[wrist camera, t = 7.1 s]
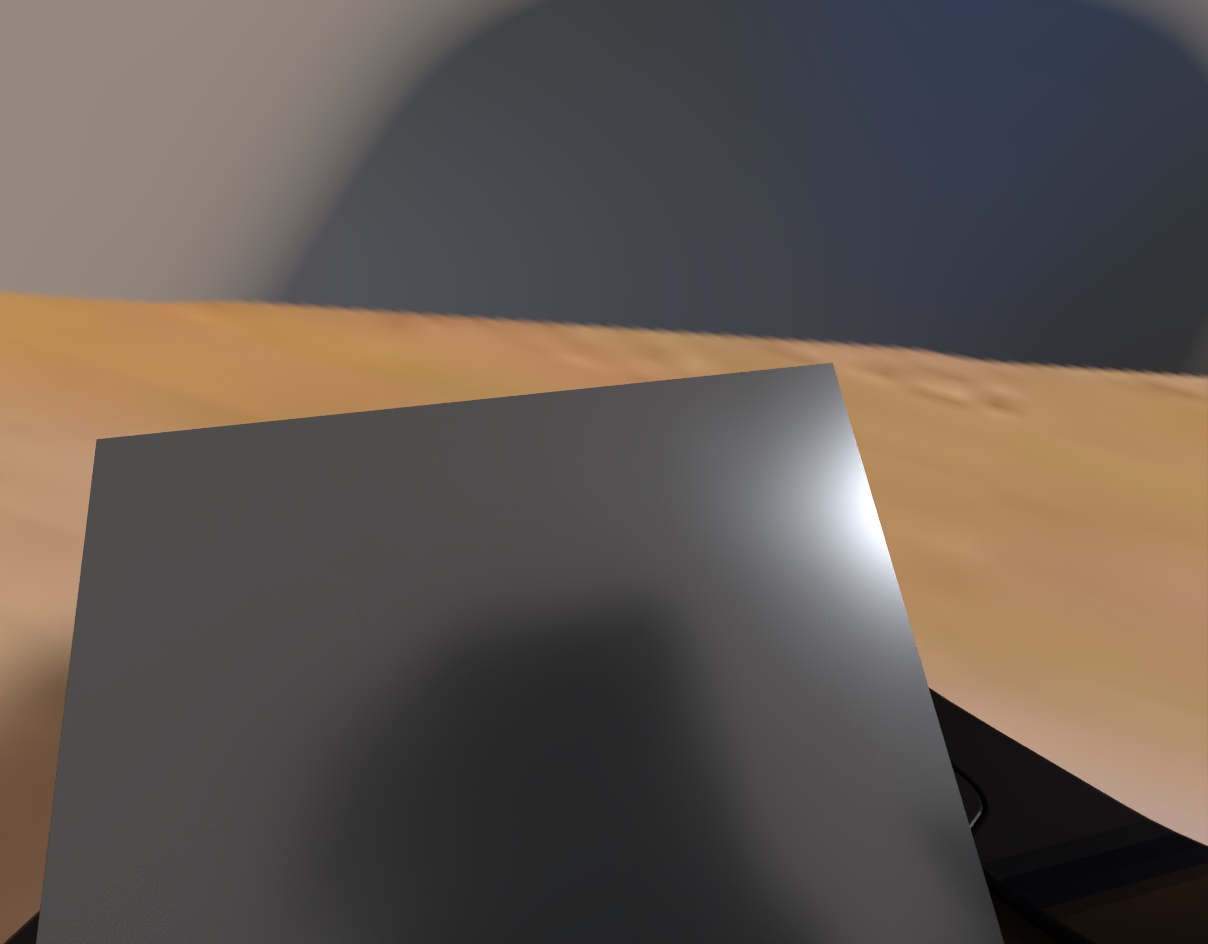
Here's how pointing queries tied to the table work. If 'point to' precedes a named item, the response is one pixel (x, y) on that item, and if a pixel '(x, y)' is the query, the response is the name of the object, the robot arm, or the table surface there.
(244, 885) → the steel square peg
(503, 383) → the table surface
